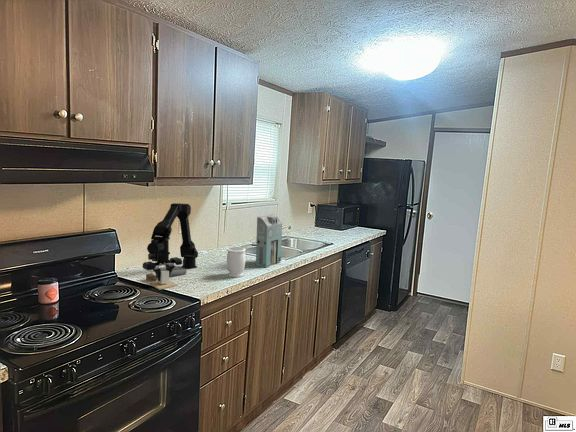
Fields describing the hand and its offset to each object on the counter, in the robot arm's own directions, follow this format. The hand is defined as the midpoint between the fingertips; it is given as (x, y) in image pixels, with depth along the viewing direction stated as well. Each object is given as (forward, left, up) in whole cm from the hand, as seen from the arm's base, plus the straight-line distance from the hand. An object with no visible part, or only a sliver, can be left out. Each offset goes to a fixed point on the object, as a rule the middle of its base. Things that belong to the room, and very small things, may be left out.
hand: (163, 279), depth 202 cm
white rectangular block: (0, 0, -1) cm, 1 cm away
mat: (0, 0, -2) cm, 3 cm away
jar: (-39, +9, -3) cm, 40 cm away
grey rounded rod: (-10, -10, -3) cm, 14 cm away
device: (-69, +3, -3) cm, 69 cm away
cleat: (+2, -10, -2) cm, 10 cm away
